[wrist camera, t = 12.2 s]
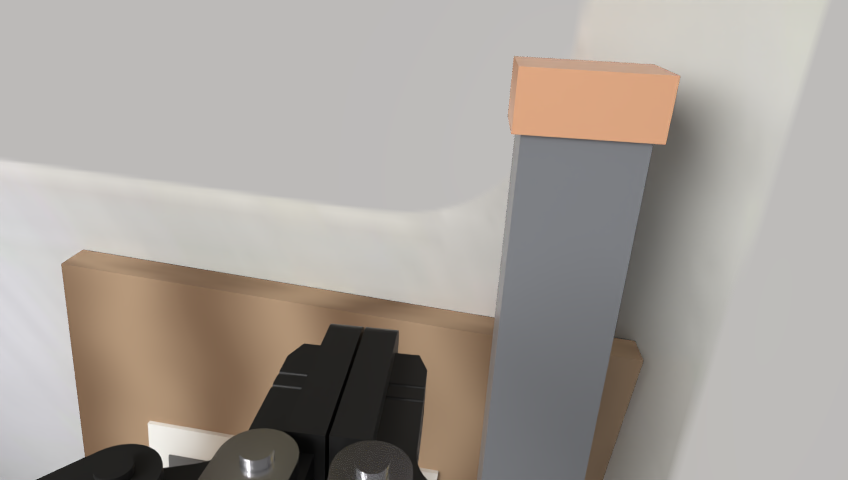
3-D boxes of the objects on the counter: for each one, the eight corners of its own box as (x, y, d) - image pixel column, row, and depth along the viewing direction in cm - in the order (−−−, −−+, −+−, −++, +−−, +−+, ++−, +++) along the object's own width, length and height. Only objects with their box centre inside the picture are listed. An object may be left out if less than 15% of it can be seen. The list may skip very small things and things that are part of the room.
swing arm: (555, 561, 29) (565, 637, 26) (462, 551, 29) (459, 624, 26) (652, 63, 20) (686, 78, 16) (513, 55, 20) (519, 68, 17)
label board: (110, 507, 33) (90, 534, 31) (82, 249, 27) (56, 266, 25) (554, 586, 32) (557, 618, 31) (635, 341, 26) (645, 365, 24)
